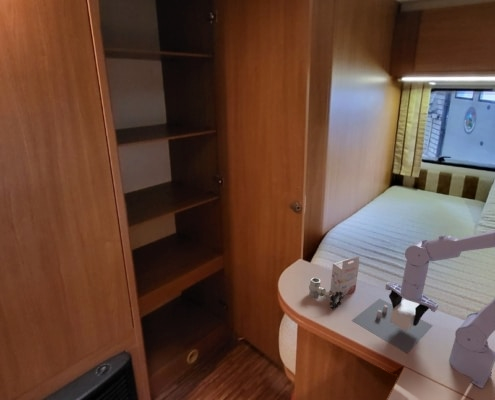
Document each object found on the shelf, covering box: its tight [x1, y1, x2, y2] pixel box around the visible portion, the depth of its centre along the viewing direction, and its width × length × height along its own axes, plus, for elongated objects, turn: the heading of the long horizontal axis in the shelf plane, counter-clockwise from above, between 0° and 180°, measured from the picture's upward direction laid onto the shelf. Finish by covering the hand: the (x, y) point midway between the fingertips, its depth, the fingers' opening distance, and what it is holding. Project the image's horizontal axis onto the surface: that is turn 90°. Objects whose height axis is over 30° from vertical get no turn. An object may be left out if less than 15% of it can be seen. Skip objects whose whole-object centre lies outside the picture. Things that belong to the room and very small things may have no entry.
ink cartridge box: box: [329, 256, 360, 297], centre depth 120 cm, size 9×5×15 cm, turn 119°
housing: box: [390, 298, 419, 332], centre depth 99 cm, size 9×5×4 cm, turn 131°
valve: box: [308, 277, 344, 310], centre depth 116 cm, size 7×7×12 cm
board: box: [351, 298, 433, 354], centre depth 105 cm, size 18×18×4 cm
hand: (405, 318), depth 100 cm, fingers closed on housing, 5 cm apart
